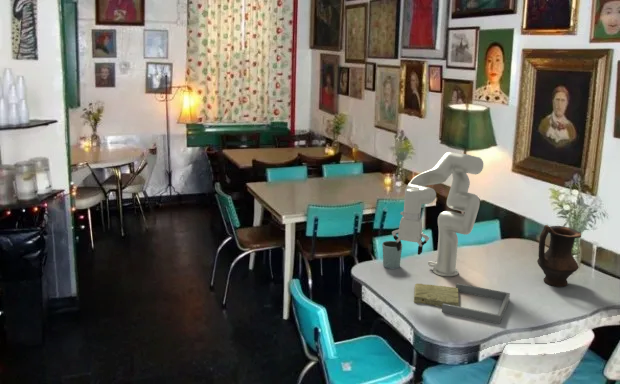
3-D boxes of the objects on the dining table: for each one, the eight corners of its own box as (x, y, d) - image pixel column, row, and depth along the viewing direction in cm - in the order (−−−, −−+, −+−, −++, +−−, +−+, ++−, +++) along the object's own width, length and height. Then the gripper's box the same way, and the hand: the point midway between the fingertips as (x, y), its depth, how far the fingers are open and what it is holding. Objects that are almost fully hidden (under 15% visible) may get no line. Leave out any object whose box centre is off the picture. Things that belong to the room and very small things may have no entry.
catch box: (441, 311, 264) (442, 304, 264) (456, 290, 288) (456, 283, 287) (499, 323, 254) (500, 316, 254) (509, 300, 278) (510, 293, 277)
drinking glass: (404, 265, 319) (405, 243, 316) (395, 271, 310) (397, 248, 308) (386, 261, 324) (387, 239, 321) (377, 266, 316) (379, 244, 313)
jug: (558, 274, 312) (565, 217, 305) (584, 287, 295) (593, 227, 288) (523, 278, 305) (529, 220, 298) (548, 292, 288) (555, 231, 281)
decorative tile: (414, 288, 290) (414, 281, 289) (458, 293, 286) (458, 286, 285) (412, 305, 272) (413, 297, 271) (459, 309, 268) (459, 302, 267)
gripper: (390, 214, 277) (388, 251, 281) (428, 220, 270) (425, 257, 274) (396, 211, 284) (393, 246, 288) (432, 216, 277) (429, 253, 280)
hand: (409, 252), depth 281 cm, fingers open, 9 cm apart
